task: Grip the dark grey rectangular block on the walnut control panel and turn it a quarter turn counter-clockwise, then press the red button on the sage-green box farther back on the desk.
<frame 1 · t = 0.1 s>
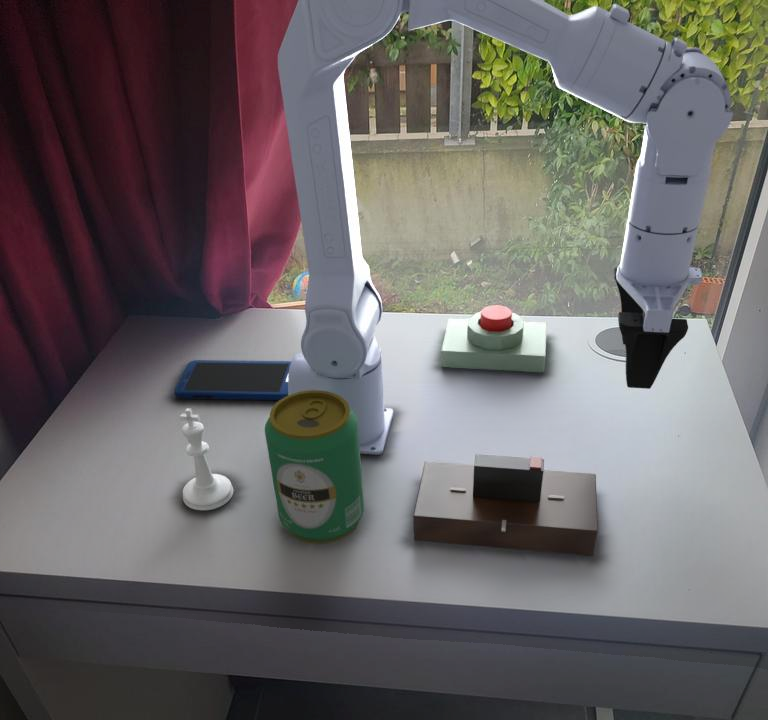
hand: (636, 364, 76), 10 cm above the table, tool pointing down, fingers open, 7 cm apart
button box: (494, 352, 98), on the table
beverage can: (322, 519, 77), on the table
panel: (504, 518, 76), on the table
chess piece: (208, 495, 80), on the table
dark grey rectangular block: (507, 477, 73), point 5 cm above the table, hinge at 0.0°
button: (496, 318, 95), point 4 cm above the table, slide at 0.1 cm
cell phone: (239, 383, 95), on the table
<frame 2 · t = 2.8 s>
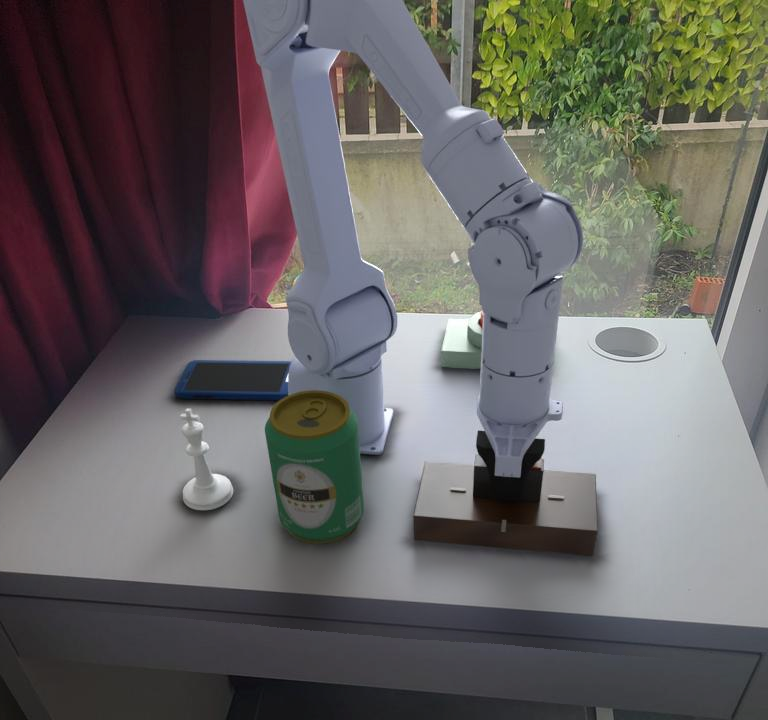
hand: (506, 490, 73), 4 cm above the table, tool pointing down, fingers closed on dark grey rectangular block, 2 cm apart
dark grey rectangular block: (507, 477, 73), point 5 cm above the table, hinge at 0.1°, touching gripper
everything else where it was.
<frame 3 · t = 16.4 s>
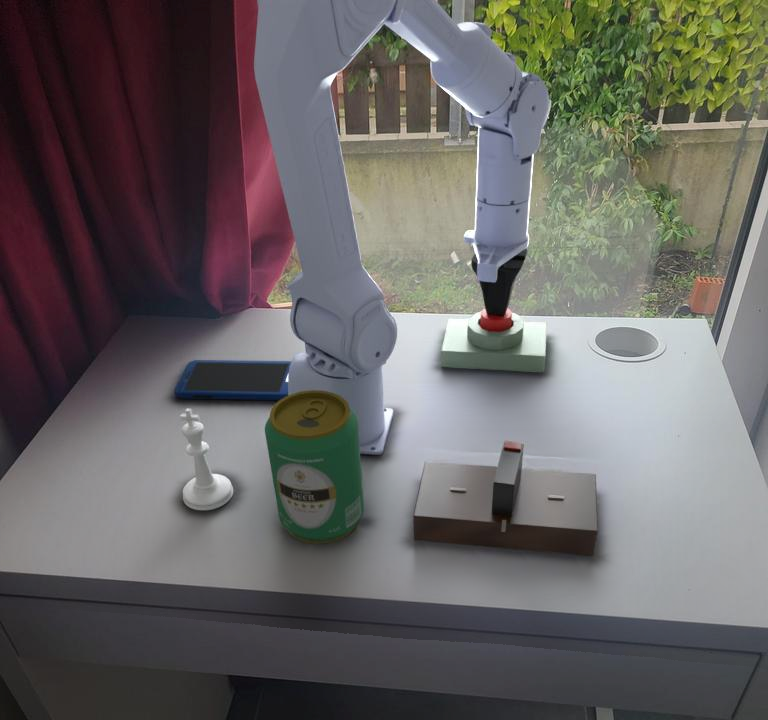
hand: (496, 313, 95), 5 cm above the table, tool pointing down, fingers closed, pressing on button
dark grey rectangular block: (507, 477, 73), point 5 cm above the table, hinge at 84.7°
button: (496, 319, 95), point 4 cm above the table, slide at 0.0 cm, touching gripper
everything else where it was.
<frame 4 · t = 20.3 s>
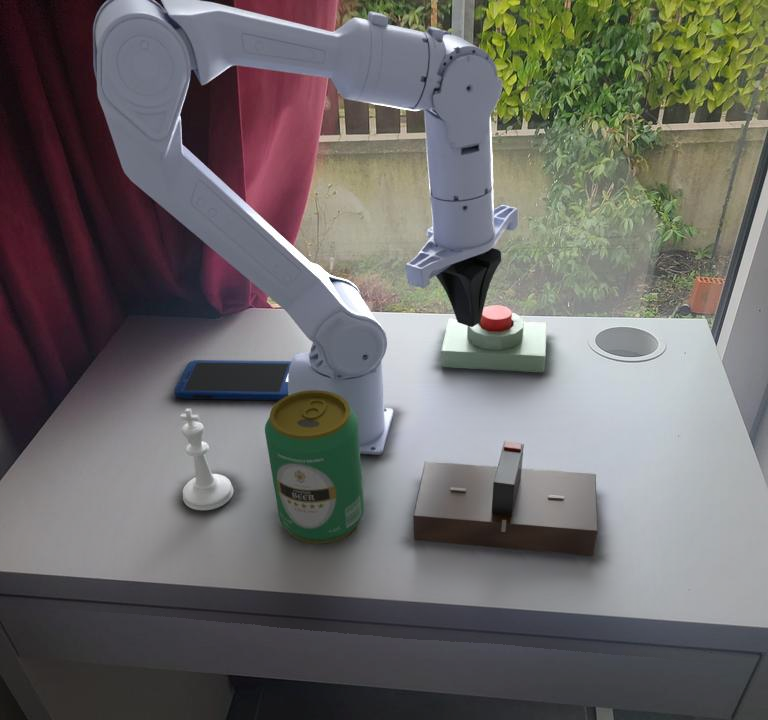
hand: (468, 321, 83), 10 cm above the table, tool pointing down, fingers closed
button: (496, 318, 95), point 4 cm above the table, slide at 0.1 cm
everything else where it was.
at the end: dark grey rectangular block at +85° (first picture: +0°); button pushed in 1.2 cm at the most during the clip, back to where it started at the end; button slide at 0.1 cm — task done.
